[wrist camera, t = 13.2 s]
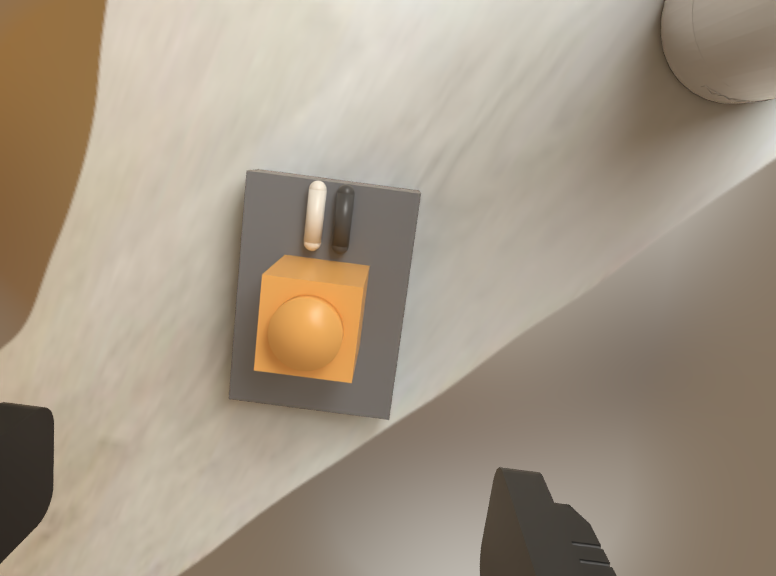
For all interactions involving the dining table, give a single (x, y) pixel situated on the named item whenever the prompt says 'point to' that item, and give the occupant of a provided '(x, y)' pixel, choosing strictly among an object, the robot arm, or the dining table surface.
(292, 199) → the button control panel
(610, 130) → the dining table surface
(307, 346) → the orange domed cube
